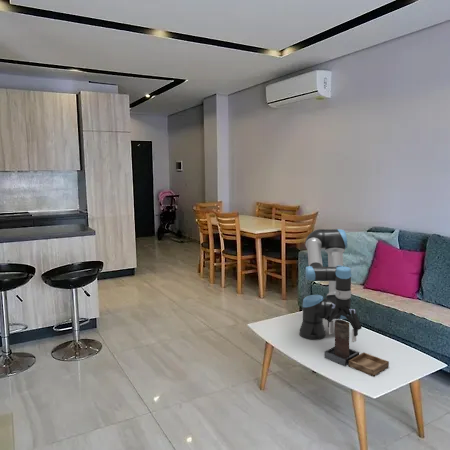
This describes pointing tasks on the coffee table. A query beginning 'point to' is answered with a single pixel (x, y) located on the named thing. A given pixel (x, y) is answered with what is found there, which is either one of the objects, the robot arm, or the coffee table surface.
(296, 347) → the coffee table surface
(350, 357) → the collar
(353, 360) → the tray
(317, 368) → the coffee table surface
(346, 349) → the rusty brown cylinder
